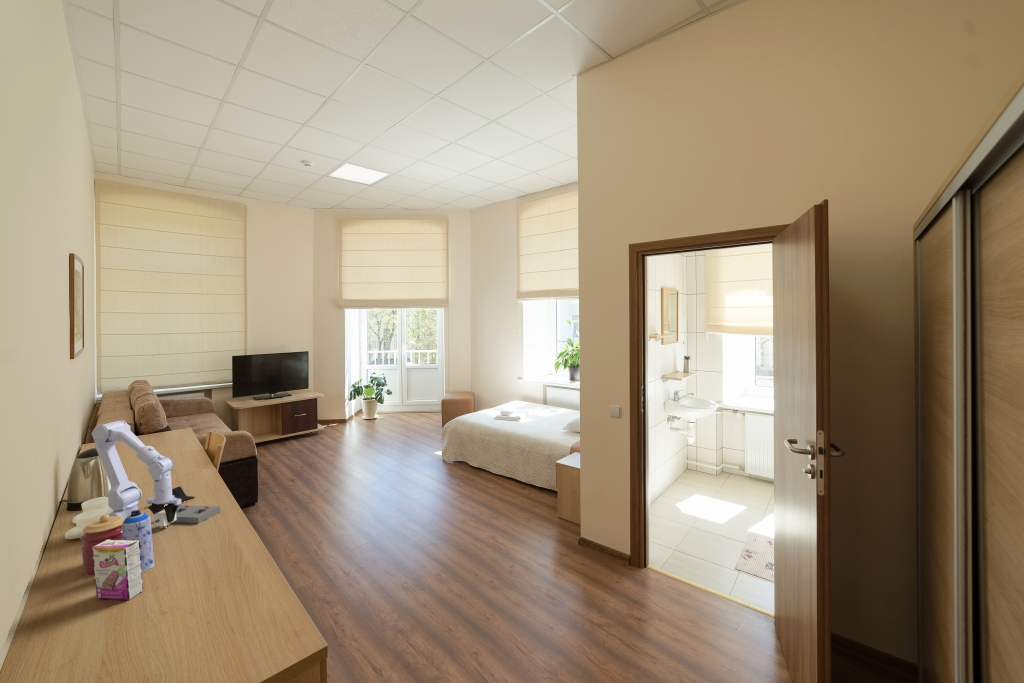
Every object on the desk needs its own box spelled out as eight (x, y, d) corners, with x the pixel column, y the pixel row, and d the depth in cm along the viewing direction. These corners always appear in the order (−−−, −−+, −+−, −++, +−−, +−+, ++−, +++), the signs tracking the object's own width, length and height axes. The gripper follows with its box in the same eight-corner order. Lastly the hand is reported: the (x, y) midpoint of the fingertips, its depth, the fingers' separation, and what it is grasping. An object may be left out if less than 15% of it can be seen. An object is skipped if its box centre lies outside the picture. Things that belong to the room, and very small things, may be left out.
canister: (75, 569, 153) (71, 519, 152) (122, 551, 164) (118, 504, 163) (92, 578, 147) (88, 526, 146) (140, 559, 158) (136, 510, 157)
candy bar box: (95, 600, 135) (90, 547, 134) (111, 590, 140) (107, 538, 139) (129, 601, 134) (124, 547, 133) (144, 591, 139) (140, 539, 138)
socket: (198, 523, 186) (198, 516, 185) (157, 521, 189) (156, 514, 189) (220, 512, 196) (219, 505, 196) (180, 510, 200) (180, 503, 200)
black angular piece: (176, 504, 203) (165, 486, 205) (164, 514, 204) (153, 496, 205) (197, 497, 215) (186, 480, 216) (186, 507, 215) (175, 490, 217)
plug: (161, 532, 179) (160, 516, 178) (151, 531, 180) (150, 516, 179) (177, 524, 185) (175, 509, 185) (167, 524, 186) (166, 508, 186)
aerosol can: (119, 576, 147) (114, 517, 146) (132, 564, 155) (128, 507, 154) (147, 572, 149) (143, 513, 148) (159, 560, 157) (155, 504, 156)
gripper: (187, 485, 185) (189, 517, 186) (157, 484, 187) (159, 516, 188) (171, 492, 178) (173, 525, 179) (140, 490, 180) (143, 523, 181)
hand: (165, 521), depth 183 cm, fingers closed on plug, 5 cm apart
